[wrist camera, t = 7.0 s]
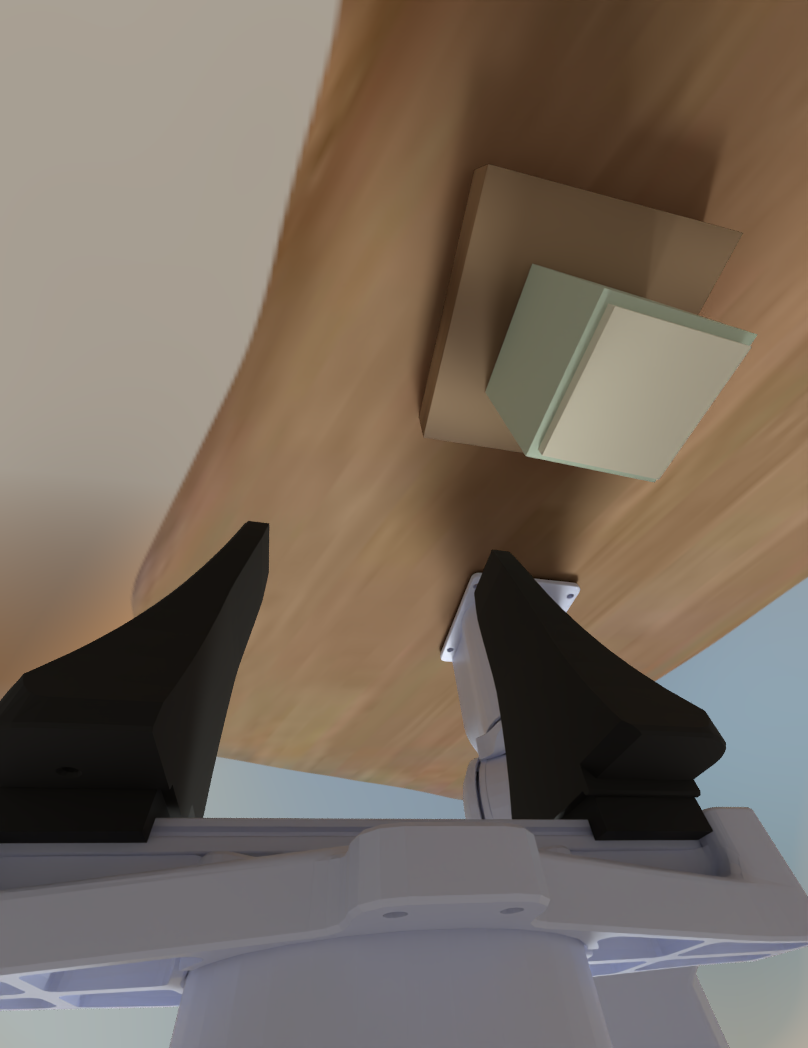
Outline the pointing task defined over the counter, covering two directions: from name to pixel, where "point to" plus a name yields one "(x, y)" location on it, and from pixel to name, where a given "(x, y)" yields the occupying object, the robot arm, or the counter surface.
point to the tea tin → (608, 375)
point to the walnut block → (559, 244)
